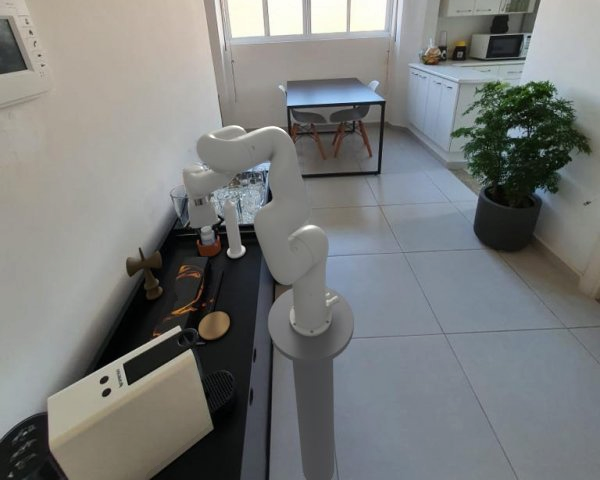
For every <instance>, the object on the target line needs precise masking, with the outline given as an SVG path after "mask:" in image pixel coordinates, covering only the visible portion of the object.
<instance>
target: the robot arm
mask: <svg viewBox="0 0 600 480" xmlns="http://www.w3.org/2000/svg"><path fill="white" fill-rule="evenodd" d="M196 153H197V157H198V158H199V160H200V161H201V162H202V163H203V164H204V165H206V166H207V167H208V168H209V169H207V170H205V168H204V166H202V165H198V164H197V165H196V164H195V165H190V166H187V167H186V168H185V169H183V171H182V177H183V181H184V186H185V190H186V194H187V198H188V199H187V200H188V202H187V211H188V212H187V213H188V220H187V222H186V223H185V224H184V227H183V228H184V229H185V230H187V231H189V232H191V233H193V234H194V235H195V237H196V241H197V240H199V242H200V243H201V242H202V240H201V234H202V233H201V228H202V227H204V226H211V227H213V231H214V233H215V238H216V239H218V237H217V236H220V235H219V234H220V232H219V228H220V227H221V225H223V223H225V219H224V215H222V214H220V213H219V212H218V209H217V206H216V203H215V200H214V198H213V197H215V193H214V192H215V191H218V190H220V189H222V188H224V187H226V186H228V185H229V184H231V183H232V181H233V180H234V179H235V178H236V176H237V174H242V173H243V174H244V173H246V172H248V171H251V170H252V169H254V168H256V167H258V166H260V165H262V164H264V163H266V162H270V163H269V167H268V170H267V171H268V172H267V182H268V186H269V189H270V191H271V197H272V199H271V201H269V202H268V203H266V204H265V205H263V206H261V207H260V208H259V209H257V211H256V213H255V214H254V218H253V228H254V232H255V235H256V238H257V241H258V244H259V246H260V249H261V252H262V254H263V258H264V259H265V263H266V265H267V268H268V271H269V272H270V274H271V275H272V277H273V279H274V280H275V281H276V282H277V283H278V284H281V285H283V286H291V288H292V291H293V303H294V306H293V307H292V308H291V311H290V315H289V318H290V324H291V326H292V328H293V329H294V330H295V331H296V332H297V333H299V334H301V335H303V336H310V337H312V336H317V335H320V334H322V333H324V332H325V331H326V330H327V329H328V328H329V326H330V324H331V321H332V313H331V310H330V308H332V306H333V305H335V304H337V303H338V302H339V298H338V297H337V296H335V297H333V298H332V299H331V300H327V299H329V298H331V296H330V294H329V293H328V294H326V287H327V273H326V271H327V270H326V269H327V260H328V256H329V249H330V248H329V247H330V246H329V245H330V244H329V239H328V236H327V233H325V231H324V230H323V229H322V228H321V227H320V226H317V225H315V224H307V223H308V222H309V221H310V220H311V218H312V215H313V209H312V204H311V201H310V198H309V195H308V191H307V189H306V185H305V181H304V179H303V176H302V174H301V173H302V172H301V169H300V164H299V158H298V153H297V148H296V145H295V143H294V141H293V139H292V137H291V136H290V134H289V133H288V132H286V131H285V130H284V129H282V128H281V127H278V126H264V127H260V128H256V129H254V130H252V131H250V132H247V131H246V130H245V128H243V127H241V126H239V125H227V126H224V127H220V128H217V129H215V130H212V131H209V132H206V133H203V134H202V135H201V136H200V137H199V138H198V140H197V142H196Z"/></svg>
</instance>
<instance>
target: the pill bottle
mask: <svg viewBox="0 0 600 480" xmlns="http://www.w3.org/2000/svg"><path fill="white" fill-rule="evenodd" d="M200 234H201V240H202V244H203V246H207V245H211V244H213V243H215V242H216V238H215V233H214V229H213V228H212V225H209V226H204V227H200Z"/></svg>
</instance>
